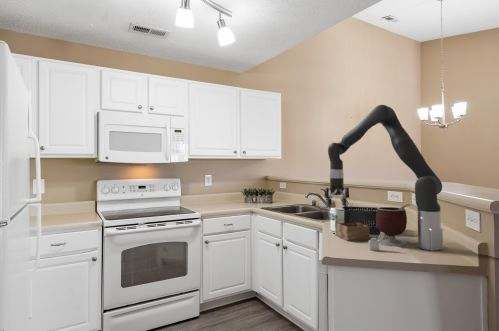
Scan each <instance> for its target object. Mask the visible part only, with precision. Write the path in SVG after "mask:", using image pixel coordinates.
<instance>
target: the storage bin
mask: <svg viewBox="0 0 499 331" xmlns="http://www.w3.org/2000/svg"><path fill="white" fill-rule="evenodd" d="M377 208H378V207H372V206H346V205H343V206H342V209H344V223H354V222H357V223H360V224H364V225H367V226H370V235H371V234H372V235H380V233H381V231H380V230H379V229H378V227H377V222H376V213H377ZM385 236H387V235H386V234H385Z"/></svg>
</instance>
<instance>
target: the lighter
mask: <svg viewBox="0 0 499 331" xmlns="http://www.w3.org/2000/svg"><path fill="white" fill-rule="evenodd" d="M385 236H386V235H385V233H383V232H381V233H380V234H378V237H377V238H376V237H372V238H370V240H368V250H369V251H380V243H379V241H380V242H382V240H383V239H385Z"/></svg>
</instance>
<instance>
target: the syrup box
mask: <svg viewBox="0 0 499 331" xmlns="http://www.w3.org/2000/svg"><path fill="white" fill-rule="evenodd" d="M329 212H330V233H331V232H332V233H331V234H333V233H335V234H334V235H336V223H344V209H342V208H341V207H330V210H329Z"/></svg>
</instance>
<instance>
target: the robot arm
mask: <svg viewBox="0 0 499 331" xmlns="http://www.w3.org/2000/svg"><path fill="white" fill-rule="evenodd" d="M378 124H381V125H382V127H384V129H385V130H386V131H387V133H388V135H389V138H390V141H391V146H392V149H393V150H394V152H395V153H396V155H397V156H398V158H399V159H400V161H402V162H403V164H405V165H406V166H407V167H408V168H409V169H410V170H411V171H412V172H413V173H414V175H415V176H416V178H417V180H416V181H415V183H414V197H415V204H416V207H417V208H416V209H417V210H416V211H417V246H418V248H419V249H422V250H427V251H431V252H432V251H440V250H439V249H443V250H444V242H443V241H444V240H443V239H444V238H443V234H444V233H443V232H444V230H443V228H441V227H442V226H441V218H442V217H441V205H440V204H439V202H438V195H439V194H440V193H441V192H442V191H443V183H442V180H441V179H440V178H439V177H438V175H437V174H436V173H435V171H433V170H432V168H431V167H430V166H429V164H428V163H427V161H426V160H425V158H424V156H423V154H422V153H421V152H420V149H419V148H418V147H417V145H416V143H415V142H414V140H413V139H412V138H411V136H410V135H409V133H408V132H407V131H406V129H405V128H404V127H403V125H402V124H401V122H400V120H399V118H398V116H397V113H396V112H395V110H394V109H393V108H392V107H390V106H388V105H385V104H380V105H379V104H378V105H377V106H375V107H374V108H373V109H372V110H371V111H370V112H369V113H368V114H367V115H366V117H364V118H363V119H362V120H360V122H359V123H358V124H357V125H356V126H354V127H353V128H352V129H350V131H348V132H347V133H346V134H345V135H343V136H342V137H341V140H340V141H339V142H331V143H330V144H329V145H328V148H327V155H328V159H329V162H330V166H329V167H330V168H329V169H330V171H329V186H330V187H324V199H327V205H328V206H330V207H331V206H332V198H333V197H335V196H340V197H341V203H342V204H341V205H342V206H346V204H347V199H349V198H350V191H349V190H350V188H349V187H347V186H344V185H345V184H344V182H345V181H344V164H343V163H344V162H343V160H342V159H341V157H340V156H341V155H344V154H345V153H346V152H347V151H348V150H349V149H350V148H351V146H353V145H355V144H356V143H357V142H359V141H360V140H361V139H362V138H363V137H364V136H365V134H366V133H367V132H368V131H369V130H371V129H372V128H373V127H374V126H376V125H378Z"/></svg>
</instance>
